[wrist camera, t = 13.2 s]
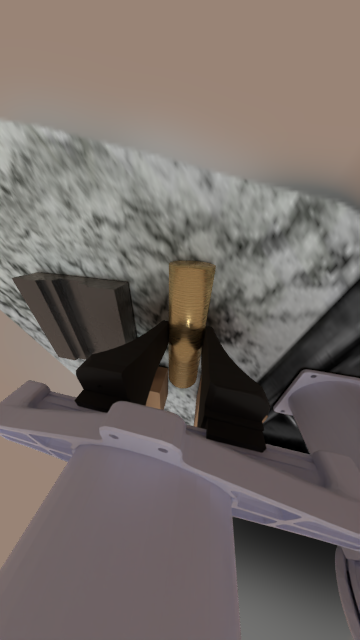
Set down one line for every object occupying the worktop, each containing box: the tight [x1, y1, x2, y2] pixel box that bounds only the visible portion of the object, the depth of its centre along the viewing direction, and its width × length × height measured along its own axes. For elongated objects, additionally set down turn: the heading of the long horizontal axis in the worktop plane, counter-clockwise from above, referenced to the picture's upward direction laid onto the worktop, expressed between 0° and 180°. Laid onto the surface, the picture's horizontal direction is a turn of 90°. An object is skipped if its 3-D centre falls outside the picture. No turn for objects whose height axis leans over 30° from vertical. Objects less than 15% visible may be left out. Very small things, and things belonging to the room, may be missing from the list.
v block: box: [12, 272, 137, 360], centre depth 15 cm, size 10×10×2 cm
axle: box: [169, 261, 216, 388], centre depth 13 cm, size 12×3×3 cm, turn 177°
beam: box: [146, 366, 268, 427], centre depth 18 cm, size 18×6×3 cm, turn 87°
